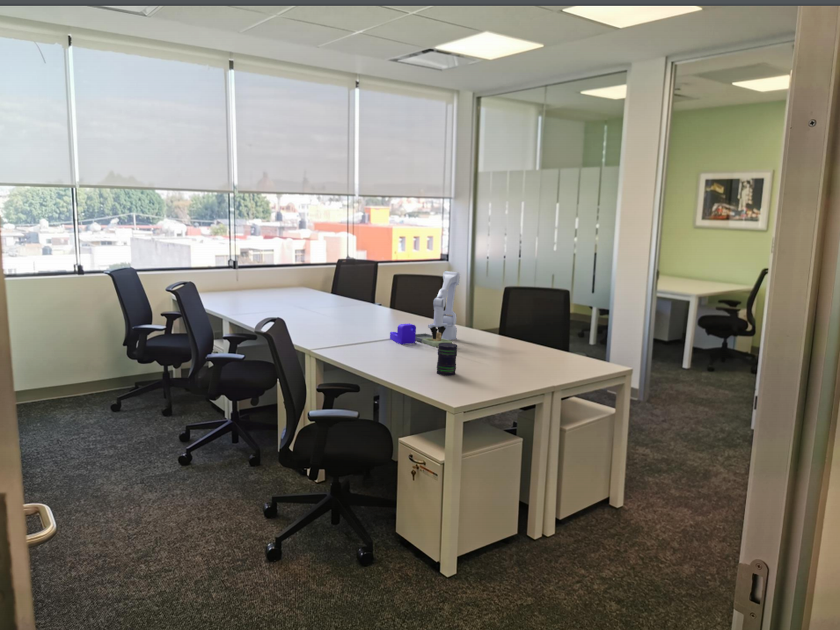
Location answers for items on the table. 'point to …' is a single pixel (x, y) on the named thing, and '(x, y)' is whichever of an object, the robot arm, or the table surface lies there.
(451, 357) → the storage jar
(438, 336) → the oak block
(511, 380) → the table surface
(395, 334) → the bracket
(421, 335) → the charcoal bin
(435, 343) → the olive bin
